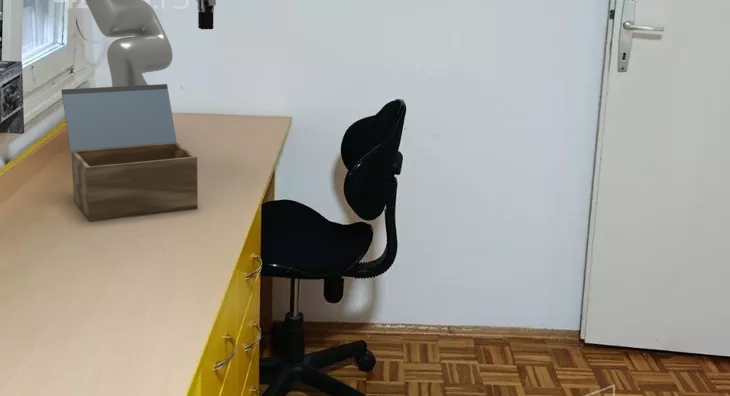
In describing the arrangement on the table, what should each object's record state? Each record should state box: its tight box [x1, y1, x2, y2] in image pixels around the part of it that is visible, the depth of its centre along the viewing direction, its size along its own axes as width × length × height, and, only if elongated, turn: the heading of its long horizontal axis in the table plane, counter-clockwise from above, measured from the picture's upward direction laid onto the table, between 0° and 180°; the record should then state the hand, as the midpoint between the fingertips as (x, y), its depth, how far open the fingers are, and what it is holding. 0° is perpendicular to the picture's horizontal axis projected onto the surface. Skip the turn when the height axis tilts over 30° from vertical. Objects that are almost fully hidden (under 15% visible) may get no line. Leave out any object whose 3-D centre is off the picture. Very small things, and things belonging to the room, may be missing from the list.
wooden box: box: [70, 142, 199, 223], centre depth 197 cm, size 14×24×12 cm, turn 120°
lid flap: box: [61, 83, 178, 152], centre depth 202 cm, size 14×24×1 cm
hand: (205, 28), depth 210 cm, fingers closed
